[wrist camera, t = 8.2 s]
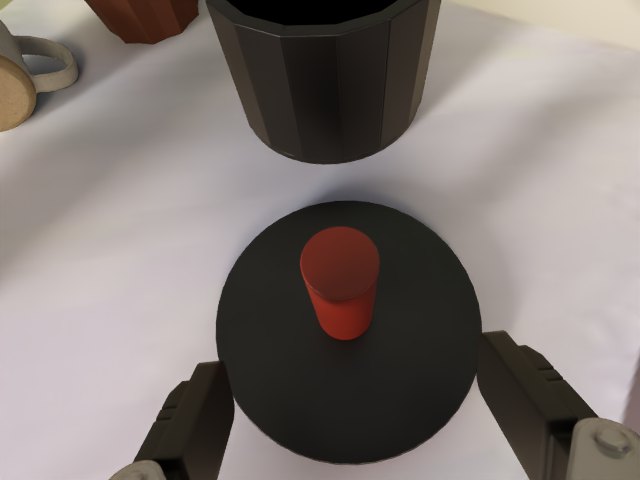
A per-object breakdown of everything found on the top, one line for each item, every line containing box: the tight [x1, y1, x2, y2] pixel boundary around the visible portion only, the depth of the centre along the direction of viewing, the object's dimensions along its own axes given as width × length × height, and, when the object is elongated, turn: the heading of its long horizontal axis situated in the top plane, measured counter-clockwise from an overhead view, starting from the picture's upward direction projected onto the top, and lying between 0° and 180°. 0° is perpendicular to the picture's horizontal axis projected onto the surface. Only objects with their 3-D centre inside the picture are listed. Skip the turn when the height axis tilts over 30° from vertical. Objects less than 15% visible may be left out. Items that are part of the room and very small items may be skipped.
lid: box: [216, 201, 482, 465], centre depth 18 cm, size 15×15×9 cm
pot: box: [205, 0, 441, 164], centre depth 25 cm, size 14×14×10 cm
